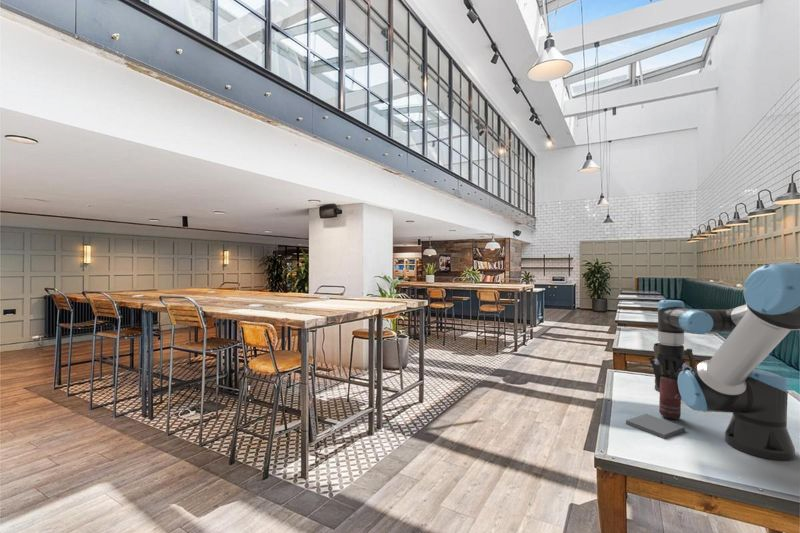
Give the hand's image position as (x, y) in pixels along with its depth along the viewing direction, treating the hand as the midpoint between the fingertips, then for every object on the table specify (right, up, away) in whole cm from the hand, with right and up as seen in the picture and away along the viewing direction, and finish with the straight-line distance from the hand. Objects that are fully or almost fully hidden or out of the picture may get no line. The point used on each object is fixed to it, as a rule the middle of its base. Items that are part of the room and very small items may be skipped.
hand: (670, 410), depth 132 cm
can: (0, -2, 0) cm, 2 cm away
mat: (-11, -3, -7) cm, 13 cm away
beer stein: (+21, -3, +27) cm, 34 cm away
